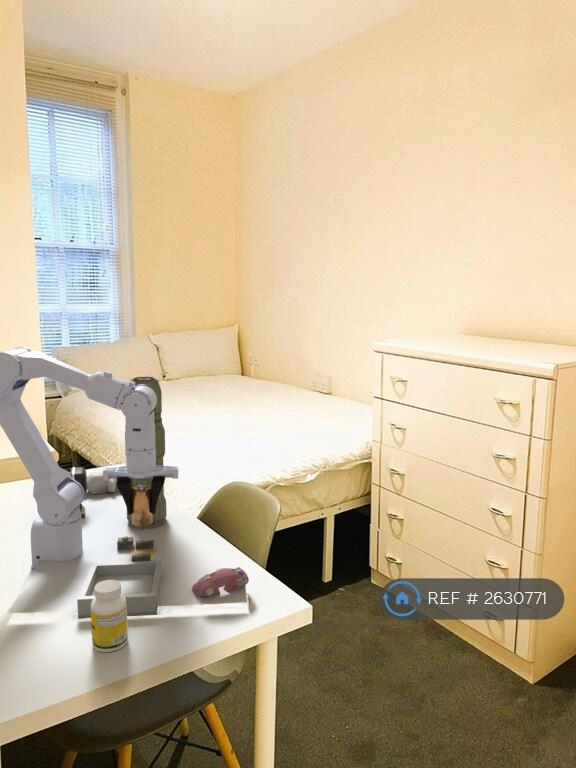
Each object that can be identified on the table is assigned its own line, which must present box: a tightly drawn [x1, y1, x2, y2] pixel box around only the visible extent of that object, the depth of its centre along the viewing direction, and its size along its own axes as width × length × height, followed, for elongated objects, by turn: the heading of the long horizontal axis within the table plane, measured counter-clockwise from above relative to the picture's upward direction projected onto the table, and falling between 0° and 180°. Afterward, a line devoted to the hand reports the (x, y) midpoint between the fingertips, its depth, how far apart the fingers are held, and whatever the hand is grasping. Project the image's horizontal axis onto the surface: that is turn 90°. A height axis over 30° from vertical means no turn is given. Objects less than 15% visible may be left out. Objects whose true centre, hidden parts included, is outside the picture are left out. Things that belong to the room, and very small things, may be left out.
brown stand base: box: [116, 535, 157, 562], centre depth 121 cm, size 12×10×4 cm
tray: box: [76, 560, 164, 619], centre depth 108 cm, size 13×13×4 cm
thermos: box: [124, 376, 168, 530], centre depth 135 cm, size 9×12×35 cm
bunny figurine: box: [87, 471, 120, 495], centre depth 160 cm, size 10×5×15 cm
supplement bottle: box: [90, 579, 129, 653], centre depth 93 cm, size 5×5×10 cm
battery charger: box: [69, 466, 88, 519], centre depth 144 cm, size 7×4×11 cm, turn 18°
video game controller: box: [191, 566, 250, 598], centre depth 108 cm, size 10×5×7 cm, turn 118°
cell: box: [131, 485, 153, 526], centre depth 120 cm, size 4×4×8 cm
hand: (142, 512), depth 120 cm, fingers closed on cell, 4 cm apart
